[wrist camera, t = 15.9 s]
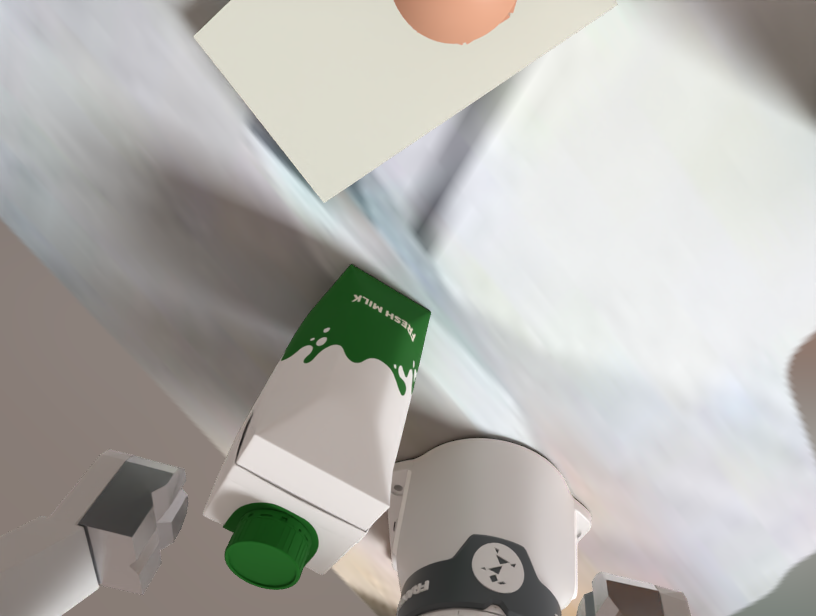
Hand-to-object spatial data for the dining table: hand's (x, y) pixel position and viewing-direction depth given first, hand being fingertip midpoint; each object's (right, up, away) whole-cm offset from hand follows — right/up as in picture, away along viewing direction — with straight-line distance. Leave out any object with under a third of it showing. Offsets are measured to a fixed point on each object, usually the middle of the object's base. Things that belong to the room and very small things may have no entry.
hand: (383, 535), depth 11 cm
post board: (0, +21, +22) cm, 30 cm away
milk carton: (-2, +4, +34) cm, 34 cm away
